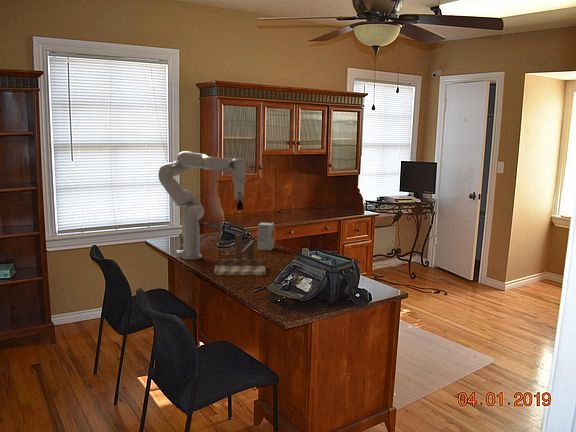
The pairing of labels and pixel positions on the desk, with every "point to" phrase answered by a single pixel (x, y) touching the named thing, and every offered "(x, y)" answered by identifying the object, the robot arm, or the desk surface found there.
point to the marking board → (239, 267)
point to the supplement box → (266, 236)
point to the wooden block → (248, 249)
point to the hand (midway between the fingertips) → (239, 208)
